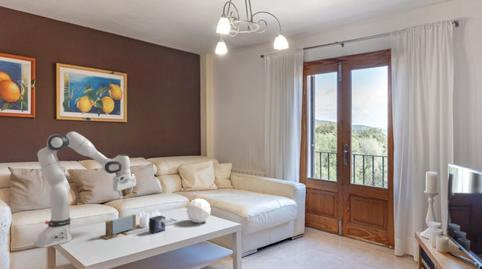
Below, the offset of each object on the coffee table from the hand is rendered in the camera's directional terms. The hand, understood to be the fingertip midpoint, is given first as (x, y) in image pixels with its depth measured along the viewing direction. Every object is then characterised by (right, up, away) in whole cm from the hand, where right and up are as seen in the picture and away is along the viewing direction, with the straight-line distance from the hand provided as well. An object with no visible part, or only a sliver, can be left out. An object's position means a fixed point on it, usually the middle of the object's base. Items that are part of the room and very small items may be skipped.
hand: (125, 194), depth 248 cm
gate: (0, -25, -5) cm, 26 cm away
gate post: (-6, -27, -15) cm, 32 cm away
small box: (+24, -27, -2) cm, 36 cm away
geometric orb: (+52, -27, +23) cm, 62 cm away
